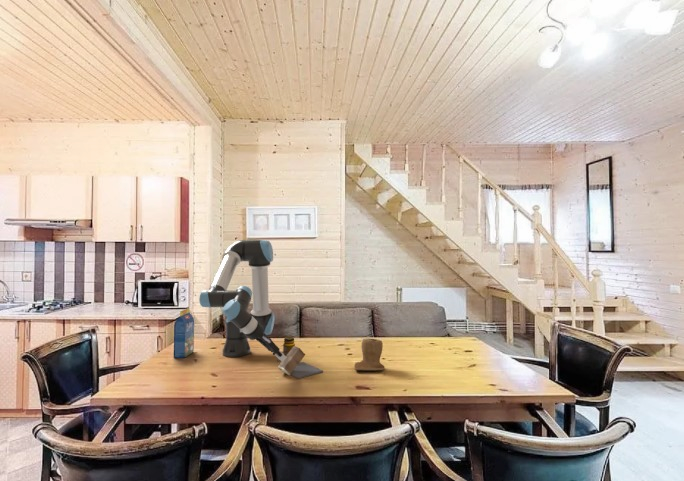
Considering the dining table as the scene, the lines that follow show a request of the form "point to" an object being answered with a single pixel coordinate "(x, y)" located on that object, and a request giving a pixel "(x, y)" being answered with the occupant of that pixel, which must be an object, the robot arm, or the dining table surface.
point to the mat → (305, 370)
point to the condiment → (287, 345)
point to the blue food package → (184, 335)
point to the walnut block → (291, 360)
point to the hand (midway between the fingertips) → (284, 359)
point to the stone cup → (370, 355)
